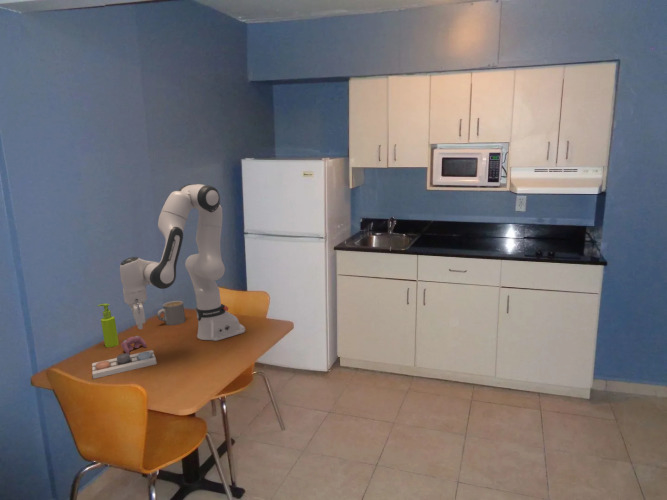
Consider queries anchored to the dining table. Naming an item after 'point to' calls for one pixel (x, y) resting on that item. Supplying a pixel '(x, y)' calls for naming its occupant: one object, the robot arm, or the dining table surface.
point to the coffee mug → (172, 313)
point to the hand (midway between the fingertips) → (140, 328)
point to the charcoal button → (123, 359)
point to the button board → (124, 367)
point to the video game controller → (131, 340)
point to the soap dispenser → (109, 327)
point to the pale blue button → (144, 356)
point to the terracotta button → (102, 365)
